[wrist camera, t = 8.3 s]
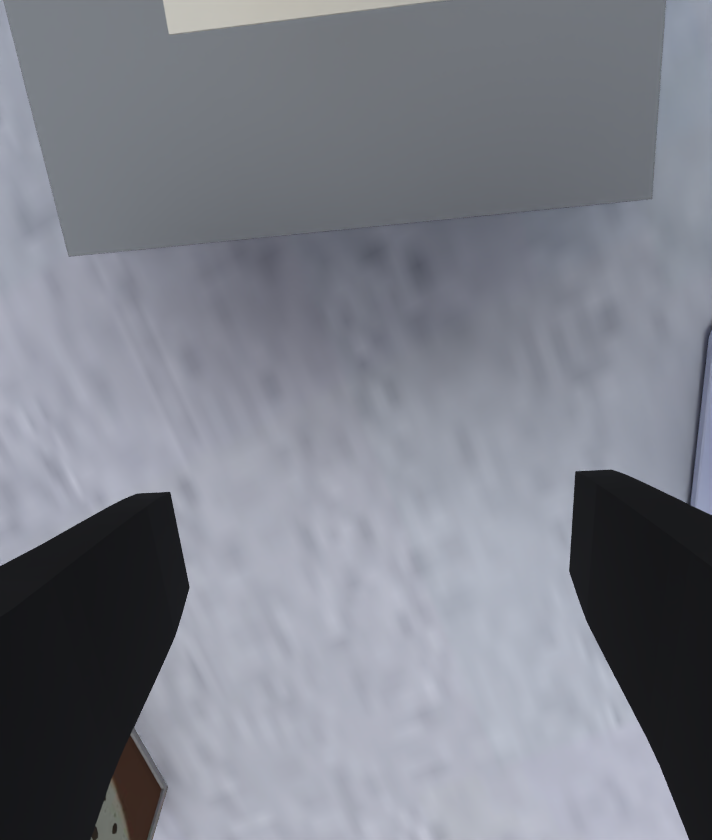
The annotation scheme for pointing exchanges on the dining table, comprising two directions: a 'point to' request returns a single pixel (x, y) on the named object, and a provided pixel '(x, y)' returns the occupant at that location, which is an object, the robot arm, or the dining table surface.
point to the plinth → (333, 112)
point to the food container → (132, 796)
